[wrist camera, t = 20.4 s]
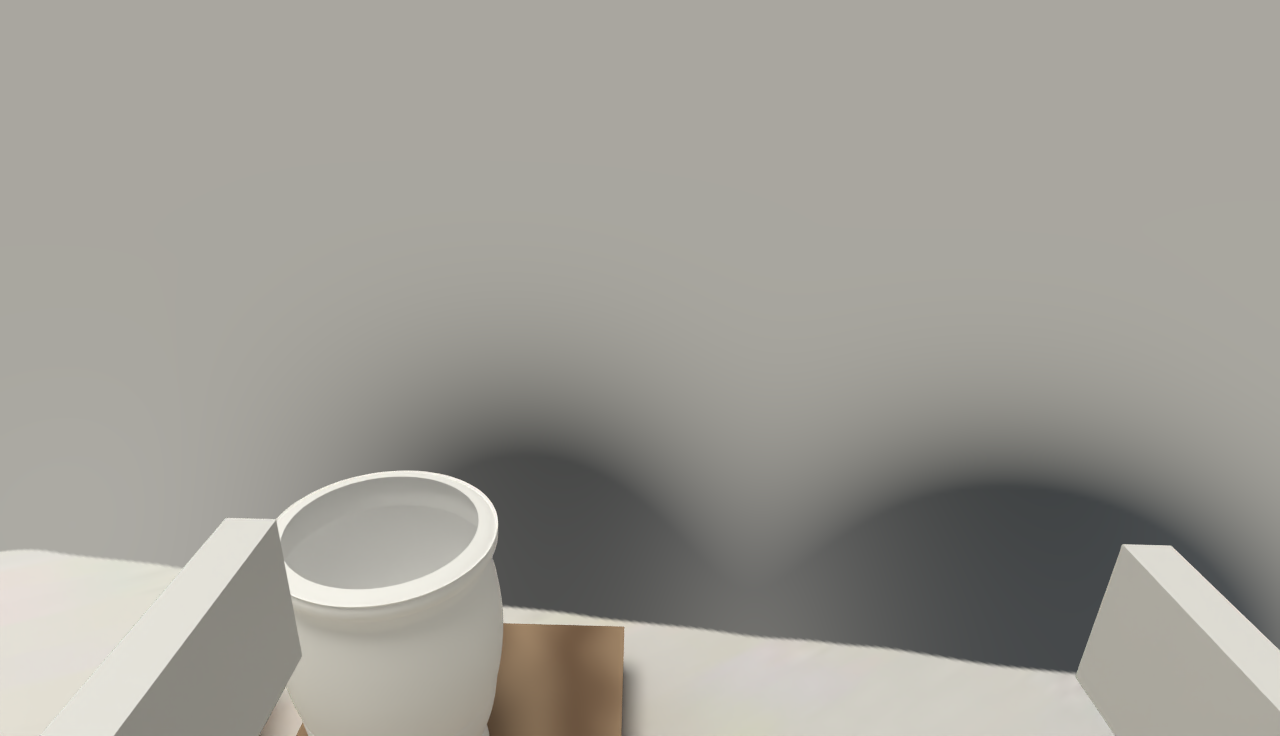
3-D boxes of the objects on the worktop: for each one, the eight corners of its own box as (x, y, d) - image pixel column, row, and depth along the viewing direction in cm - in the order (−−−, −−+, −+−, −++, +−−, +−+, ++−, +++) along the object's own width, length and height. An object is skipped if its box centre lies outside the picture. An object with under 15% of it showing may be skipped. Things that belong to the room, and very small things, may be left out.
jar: (546, 727, 43) (542, 505, 37) (417, 892, 35) (383, 640, 29) (406, 656, 47) (381, 448, 41) (261, 787, 39) (203, 549, 33)
